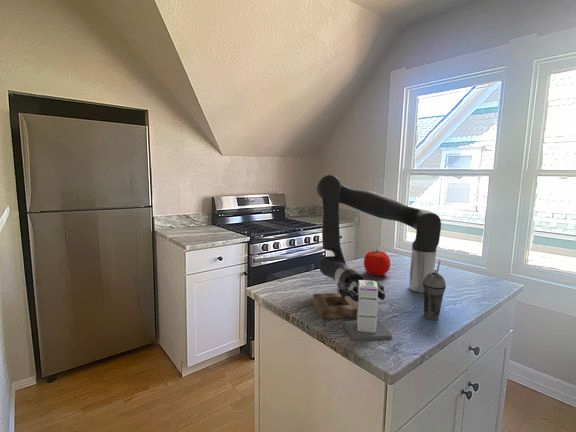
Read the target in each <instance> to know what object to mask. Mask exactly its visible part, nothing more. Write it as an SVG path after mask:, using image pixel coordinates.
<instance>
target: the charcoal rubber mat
mask: <svg viewBox="0 0 576 432" xmlns="http://www.w3.org/2000/svg"><path fill="white" fill-rule="evenodd" d="M342 325H343V327H344V329H345V330H346V332H347V334H348V336H349V337H350V339H351V340H352V341H353V342H354V341H371V340H373V341H374V340H390V339H392V338H393V335H392V334H391V332H389V330H388V329H387V328H386V327H385V326H384V324H383V323H382V322H381V321H380V320H379V319H377V325H376V333H371V332H362V331H357V320H342Z"/></svg>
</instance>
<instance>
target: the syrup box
mask: <svg viewBox="0 0 576 432" xmlns="http://www.w3.org/2000/svg"><path fill="white" fill-rule="evenodd" d="M377 282H378V281H377V280H370V279H364V280H359V283H358V293H357V294H358V296H359V299H358V302H357V303H358V305H357V318H356V321H357V331H362V332H371V333H376V325H377V320H378V301H379V300H378V299H379V297H378V286H377Z"/></svg>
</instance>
